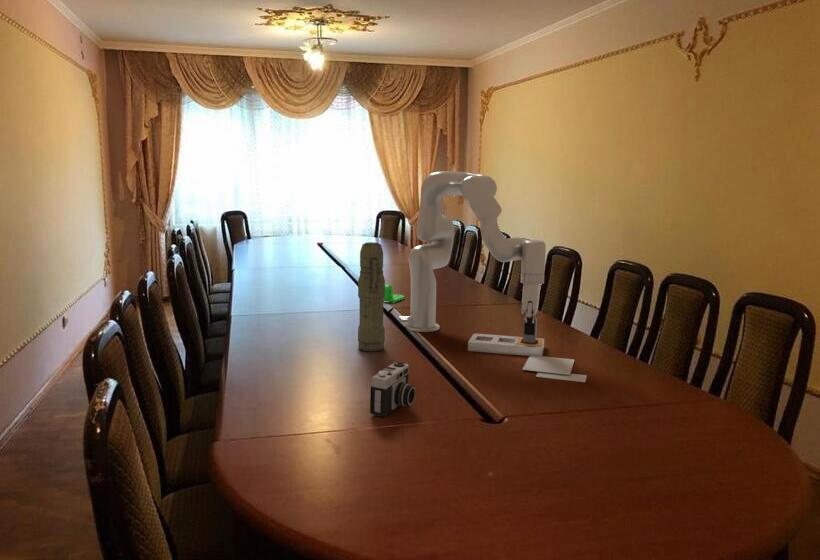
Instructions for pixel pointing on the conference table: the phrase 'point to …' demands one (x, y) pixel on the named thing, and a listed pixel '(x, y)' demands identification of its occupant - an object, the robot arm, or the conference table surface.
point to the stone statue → (371, 298)
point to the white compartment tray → (504, 345)
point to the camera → (391, 389)
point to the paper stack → (553, 368)
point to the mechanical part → (389, 295)
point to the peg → (530, 338)
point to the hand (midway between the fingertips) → (529, 332)
